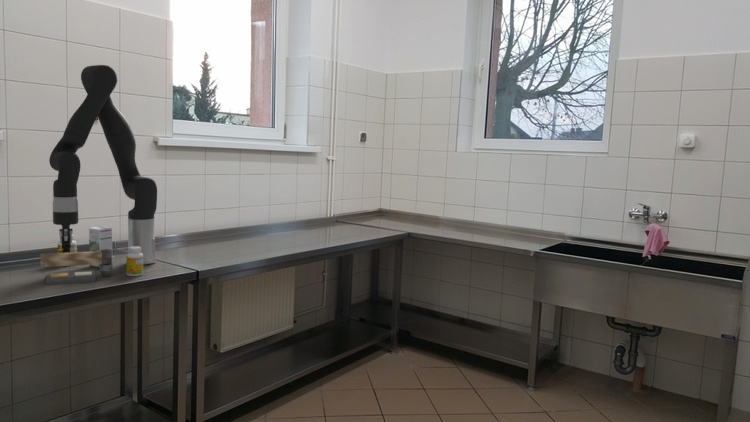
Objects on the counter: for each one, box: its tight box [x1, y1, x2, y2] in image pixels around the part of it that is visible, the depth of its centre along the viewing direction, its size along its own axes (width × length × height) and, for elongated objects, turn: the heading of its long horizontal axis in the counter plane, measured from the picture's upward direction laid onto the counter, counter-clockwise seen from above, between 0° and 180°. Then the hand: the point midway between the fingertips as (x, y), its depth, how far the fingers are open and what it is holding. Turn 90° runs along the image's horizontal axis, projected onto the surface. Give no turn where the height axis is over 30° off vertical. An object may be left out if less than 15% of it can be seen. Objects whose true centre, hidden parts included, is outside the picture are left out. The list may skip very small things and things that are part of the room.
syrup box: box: [88, 225, 114, 269], centre depth 201 cm, size 6×6×14 cm
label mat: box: [45, 268, 96, 285], centre depth 182 cm, size 14×14×1 cm
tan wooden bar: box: [40, 249, 113, 268], centre depth 183 cm, size 21×4×5 cm, turn 119°
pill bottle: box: [57, 234, 78, 253], centre depth 201 cm, size 6×6×11 cm
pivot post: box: [99, 264, 114, 278], centre depth 187 cm, size 4×4×4 cm
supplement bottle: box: [126, 246, 144, 277], centre depth 190 cm, size 5×5×10 cm
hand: (66, 260), depth 186 cm, fingers closed
